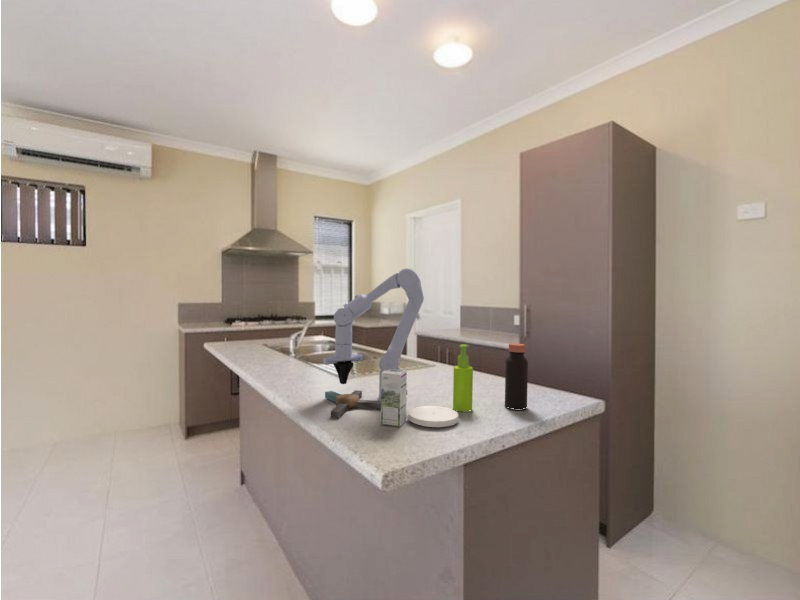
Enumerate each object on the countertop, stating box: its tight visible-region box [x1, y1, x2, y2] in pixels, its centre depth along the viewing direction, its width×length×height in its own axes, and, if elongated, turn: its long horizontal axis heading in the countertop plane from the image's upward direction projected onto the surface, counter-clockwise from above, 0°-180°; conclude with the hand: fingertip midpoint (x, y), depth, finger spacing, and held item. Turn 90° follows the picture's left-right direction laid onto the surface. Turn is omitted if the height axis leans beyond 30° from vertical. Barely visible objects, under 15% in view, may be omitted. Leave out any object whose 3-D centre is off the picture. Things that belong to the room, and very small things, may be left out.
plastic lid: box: [407, 405, 460, 428], centre depth 111 cm, size 14×14×2 cm
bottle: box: [504, 343, 529, 409], centre depth 124 cm, size 7×7×20 cm
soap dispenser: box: [452, 343, 474, 412], centre depth 122 cm, size 6×7×20 cm
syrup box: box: [380, 369, 408, 428], centre depth 108 cm, size 6×6×14 cm
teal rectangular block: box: [324, 390, 342, 403], centre depth 129 cm, size 8×2×2 cm, turn 40°
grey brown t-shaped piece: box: [330, 390, 381, 420], centre depth 123 cm, size 16×24×3 cm, turn 170°
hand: (343, 383), depth 134 cm, fingers closed
